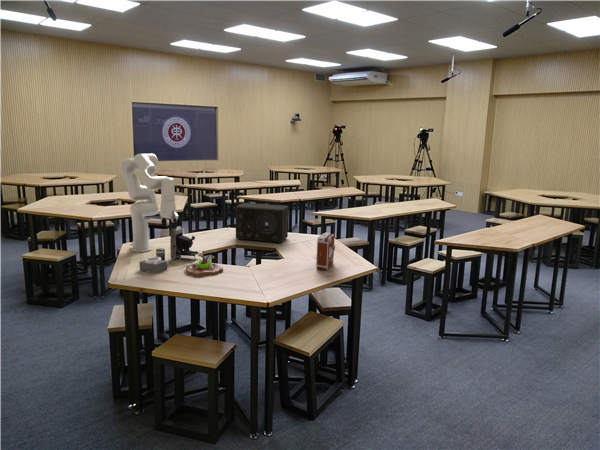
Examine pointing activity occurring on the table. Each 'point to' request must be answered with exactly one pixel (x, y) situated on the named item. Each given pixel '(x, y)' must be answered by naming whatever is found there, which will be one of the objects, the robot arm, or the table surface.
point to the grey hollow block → (153, 265)
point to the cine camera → (325, 251)
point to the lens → (160, 253)
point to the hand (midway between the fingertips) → (169, 227)
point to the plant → (203, 268)
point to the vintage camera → (180, 244)
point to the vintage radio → (262, 222)
